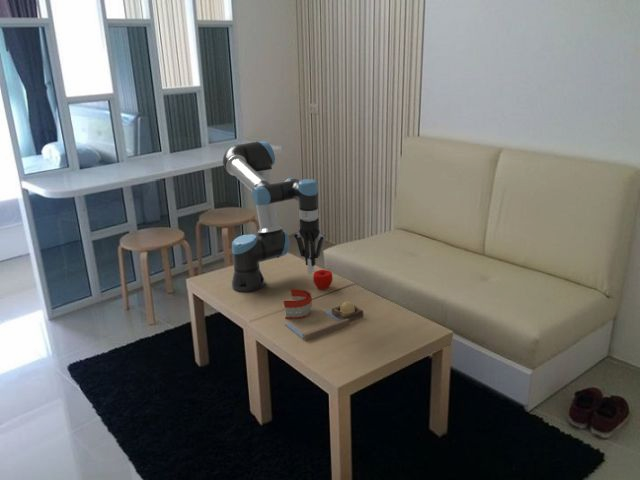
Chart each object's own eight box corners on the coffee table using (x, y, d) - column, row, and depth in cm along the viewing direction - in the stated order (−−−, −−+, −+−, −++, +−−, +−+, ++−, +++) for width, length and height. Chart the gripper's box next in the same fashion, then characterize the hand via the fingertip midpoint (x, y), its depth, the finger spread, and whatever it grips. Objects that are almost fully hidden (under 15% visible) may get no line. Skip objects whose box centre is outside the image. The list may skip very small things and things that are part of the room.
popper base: (332, 315, 235) (332, 308, 234) (350, 309, 239) (350, 302, 238) (344, 323, 227) (344, 316, 226) (363, 317, 232) (363, 310, 231)
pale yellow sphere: (337, 314, 234) (336, 301, 232) (349, 310, 237) (348, 297, 235) (345, 320, 229) (345, 306, 227) (357, 315, 232) (357, 302, 230)
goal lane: (285, 325, 228) (284, 319, 228) (327, 310, 239) (327, 305, 238) (305, 340, 216) (304, 335, 215) (349, 325, 226) (349, 319, 225)
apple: (336, 288, 258) (336, 272, 256) (320, 293, 254) (319, 277, 251) (326, 282, 266) (325, 266, 263) (310, 287, 261) (309, 271, 259)
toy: (309, 321, 231) (308, 303, 228) (284, 319, 233) (283, 302, 230) (315, 307, 242) (314, 290, 240) (291, 305, 244) (290, 288, 242)
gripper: (290, 220, 226) (292, 274, 235) (321, 223, 222) (322, 278, 231) (297, 214, 233) (299, 266, 242) (327, 217, 229) (328, 270, 237)
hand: (310, 272), depth 236 cm, fingers closed
